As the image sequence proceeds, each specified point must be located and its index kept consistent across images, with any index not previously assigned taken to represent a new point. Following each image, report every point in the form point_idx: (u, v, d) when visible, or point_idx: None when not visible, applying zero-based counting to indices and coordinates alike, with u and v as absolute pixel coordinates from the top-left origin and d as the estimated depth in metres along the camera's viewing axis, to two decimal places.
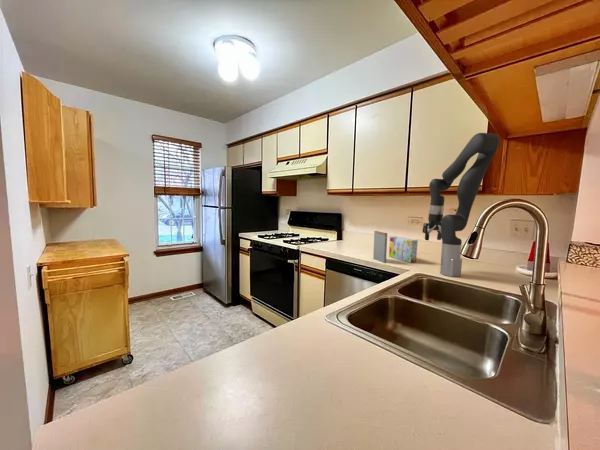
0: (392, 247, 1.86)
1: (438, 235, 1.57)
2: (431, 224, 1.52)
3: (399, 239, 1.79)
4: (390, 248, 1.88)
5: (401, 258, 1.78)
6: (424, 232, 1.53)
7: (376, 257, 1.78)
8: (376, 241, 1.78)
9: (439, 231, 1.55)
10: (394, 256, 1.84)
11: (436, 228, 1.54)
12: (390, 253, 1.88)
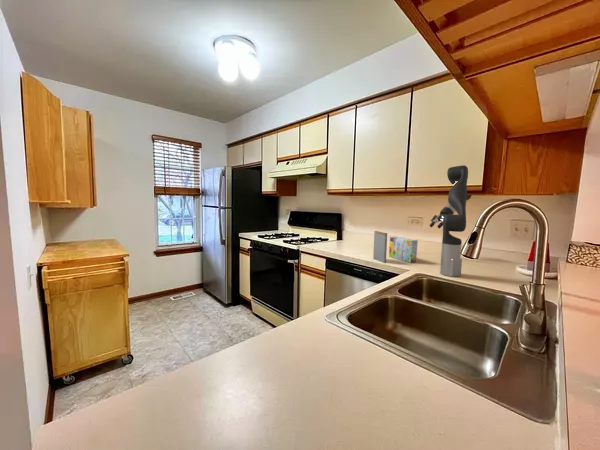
0: (392, 247, 1.86)
1: None
2: (438, 215, 1.88)
3: (399, 239, 1.79)
4: (390, 248, 1.88)
5: (401, 258, 1.78)
6: None
7: (376, 257, 1.78)
8: (376, 241, 1.78)
9: None
10: (394, 256, 1.84)
11: (440, 218, 1.84)
12: (390, 253, 1.88)
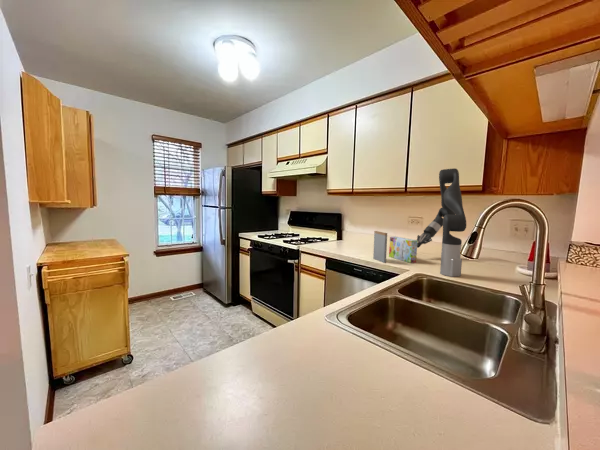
0: (392, 247, 1.86)
1: None
2: (421, 235, 1.87)
3: (399, 239, 1.79)
4: (390, 248, 1.88)
5: (401, 258, 1.78)
6: None
7: (376, 257, 1.78)
8: (376, 241, 1.78)
9: (421, 240, 1.83)
10: (394, 256, 1.84)
11: (423, 236, 1.84)
12: (390, 253, 1.88)
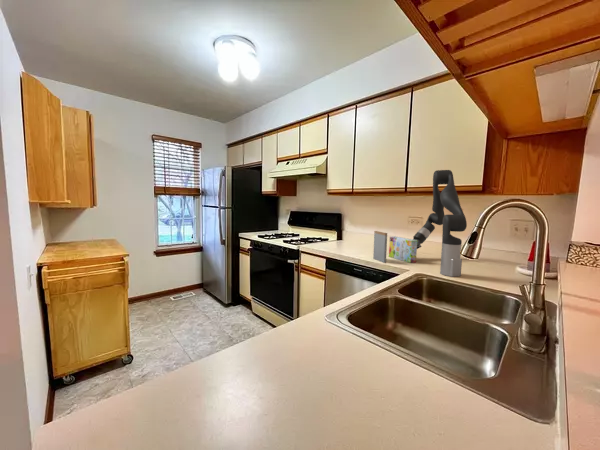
0: (391, 247, 1.86)
1: None
2: None
3: (399, 239, 1.79)
4: (390, 248, 1.88)
5: (401, 258, 1.78)
6: None
7: (376, 257, 1.78)
8: (376, 241, 1.78)
9: None
10: (394, 256, 1.84)
11: None
12: (390, 253, 1.88)
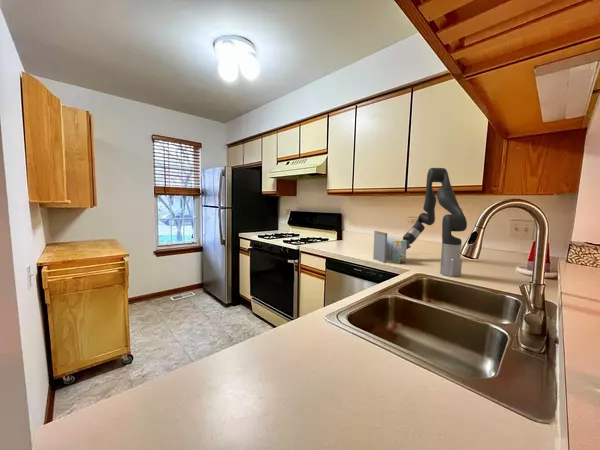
0: None
1: None
2: None
3: (388, 239, 1.77)
4: None
5: (390, 259, 1.75)
6: None
7: (376, 257, 1.78)
8: (376, 241, 1.78)
9: None
10: None
11: None
12: None
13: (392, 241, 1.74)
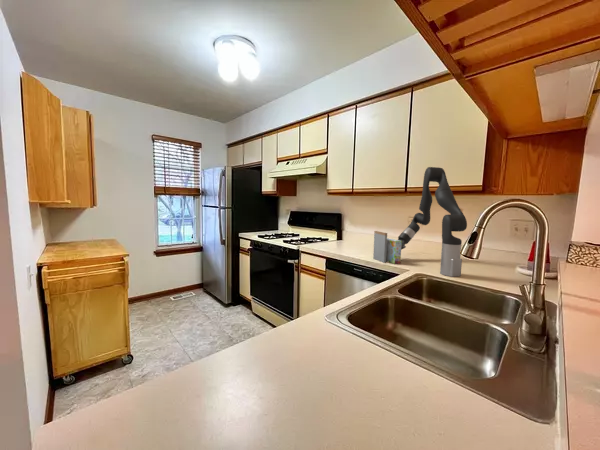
0: None
1: None
2: None
3: None
4: None
5: None
6: None
7: (376, 257, 1.78)
8: (376, 241, 1.78)
9: None
10: None
11: None
12: None
13: (387, 241, 1.72)
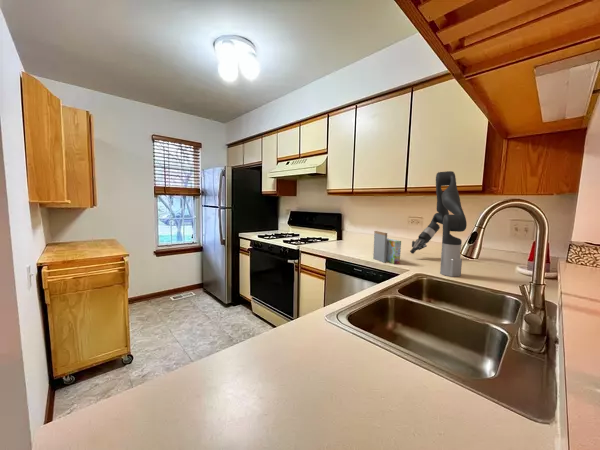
0: None
1: None
2: (415, 241, 1.87)
3: None
4: None
5: None
6: (412, 246, 1.86)
7: (376, 257, 1.78)
8: (376, 241, 1.78)
9: None
10: None
11: (418, 242, 1.84)
12: None
13: None
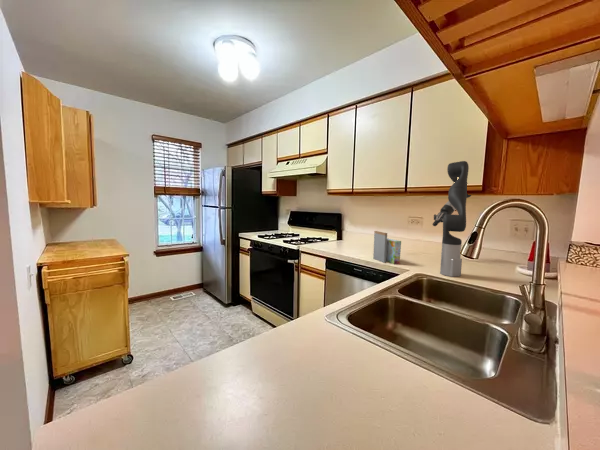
0: None
1: None
2: (437, 214, 1.85)
3: None
4: None
5: None
6: None
7: (376, 257, 1.78)
8: (376, 241, 1.78)
9: None
10: None
11: None
12: None
13: None
